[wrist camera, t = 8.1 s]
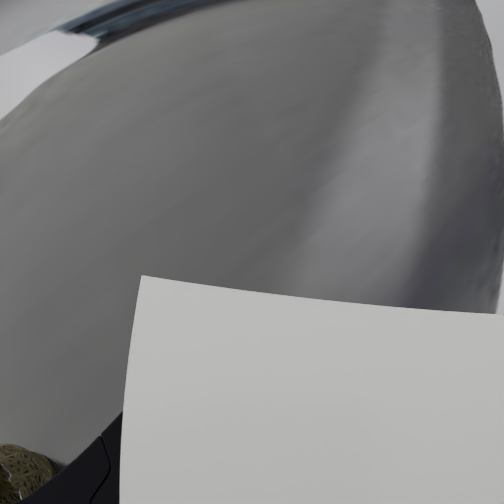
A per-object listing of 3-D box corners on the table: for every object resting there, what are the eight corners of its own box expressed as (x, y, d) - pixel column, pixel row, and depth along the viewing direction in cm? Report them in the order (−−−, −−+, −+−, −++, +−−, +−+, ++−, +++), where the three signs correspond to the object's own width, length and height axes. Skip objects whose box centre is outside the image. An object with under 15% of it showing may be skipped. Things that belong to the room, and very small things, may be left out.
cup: (95, 477, 17) (48, 521, 10) (60, 518, 16) (16, 559, 8) (27, 410, 18) (-36, 427, 11) (-1, 458, 16) (-56, 480, 9)
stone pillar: (305, 440, 13) (461, 600, 1) (200, 430, 13) (131, 633, 1) (317, 341, 15) (544, 316, 3) (213, 329, 15) (142, 275, 3)
